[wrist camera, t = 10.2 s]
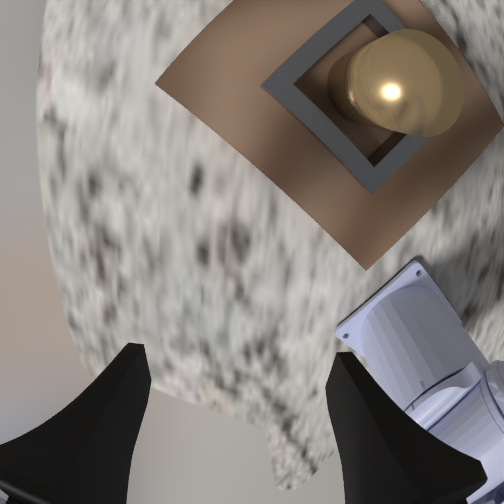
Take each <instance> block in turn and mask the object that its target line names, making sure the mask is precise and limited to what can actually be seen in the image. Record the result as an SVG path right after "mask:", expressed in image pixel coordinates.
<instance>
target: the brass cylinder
mask: <svg viewBox="0 0 504 504" xmlns="http://www.w3.org/2000/svg"><path fill="white" fill-rule="evenodd" d="M327 90H328V95H329V98H330V100H331V102H332V104H333V106H334V107H335V109H336V110H337V111H338V112H339V113H340V114H341V115H342V116H343V117H344V118H346V119H347V120H349V121H351V122H354V123H356V124H361V125H366V126H371V127H377V128H382V129H387V130H391V131H396V132H401V133H405V134H409V135H414V136H419V137H432V136H436V135H439V134H441V133H443V132H445V131H447V130H448V129H449V128H450V127H451V126H452V125H453V124H454V123H455V121H456V120H457V118H458V117H459V115H460V112H461V110H462V106H463V101H464V84H463V78H462V75H461V71H460V69H459V66H458V64H457V62H456V60H455V59H454V57H453V56H452V54H451V53H450V51H449V50H448V49H447V48H446V47H445V46H444V45H443V44H442V43H441V42H440V41H439V40H437V39H436V38H434V37H433V36H431V35H429V34H427V33H425V32H422V31H419V30H414V29H402V30H397V31H394V32H392V33H389V34H387V35H385V36H383V37H381V38H378V39H376V40H374V41H372V42H370V43H368V44H366V45H364V46H362V47H360V48H358V49H356V50H354V51H352V52H350V53H348V54H346V55H344V56H342V57H341V58H339V59H338V60H337V61H336V62H335V63H334V64H333V66H332V67H331V69H330V71H329V74H328V79H327Z"/></svg>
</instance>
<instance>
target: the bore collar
mask: <svg viewBox="0 0 504 504" xmlns="http://www.w3.org/2000/svg"><path fill="white" fill-rule="evenodd" d="M361 21H362V22H363V23H364V24H365V25H366V26H367V27H368V28H369V29H370V30H371V31H372V32H373V33H374V35H375V36H376V37H377V38H381V37H383V36H385V35H387V34H389V33H392V32H394V31H397V30H402V29H406V28H405V27H404V26H403V25H402V24H401V23H400V22H399V21H398V20H397V18H396V17H395V16H394V15H393V14H392V13H391V12H390V11H389V10H388V9H387V8H386V7H385V6H384V5H383V4H382V3H381V2H380V1H379V0H354V1H353V2H352V3H350V4H349V5H348V6H347V7H345V8H344V9H343V10H342V11H340V12H339V13H338V14H337V15H336V16H334V17H333V18H332V19H331V20H330V21H329V22H327V23H326V24H325V25H324V26H323V27H322V28H321V29H319V30H318V31H317V32H316V33H315V34H314V35H313V36H311V37H310V38H309V39H308V40H307V41H306V42H305V43H304V44H303V45H302V46H300V47H299V48H298V49H297V50H296V51H295V52H294V53H293V54H292V55H291V56H290V57H289V58H288V59H287V60H286V61H284V62H283V63H282V64H281V65H280V66H279V67H278V68H277V69H276V70H275V71H274V72H273V73H272V74H271V75H270V76H269V77H268V78H267V79H266V80H265V81H264V82H263V83H262V84H261V85H260V87H261V88H262V89H263V90H264V91H266V92H267V93H268V94H269V95H270V96H271V97H272V98H274V99H275V100H276V101H277V102H278V103H279V104H280V105H281V106H282V107H284V108H285V109H286V110H287V111H288V112H289V113H290V114H291V115H292V116H293V117H294V118H295V119H297V120H298V121H299V122H300V123H301V124H302V125H303V126H304V127H305V128H306V129H307V130H308V131H309V132H310V133H311V134H312V135H313V136H314V137H315V138H316V139H317V140H318V141H319V142H320V143H321V144H322V145H323V146H324V147H325V148H326V149H327V150H328V151H329V152H330V153H331V154H332V155H333V156H334V157H335V158H336V159H337V160H338V161H339V162H340V163H341V164H342V165H343V166H344V167H345V168H346V170H347V171H348V172H349V173H350V174H351V175H352V176H353V177H354V178H355V179H356V180H357V181H358V183H359V184H360V185H361V186H362V187H363V188H364V189H366V190H367V191H368V192H369V193H371V194H372V195H373V194H374V193H375V192H376V191H377V190H378V189H379V188H380V187H381V186H382V185H383V184H384V183H385V182H386V181H387V180H388V179H389V178H390V177H391V176H392V175H393V174H394V173H395V172H396V171H397V170H398V169H399V168H400V167H401V166H402V165H403V164H404V163H405V162H406V161H407V160H408V159H409V158H410V157H411V156H412V155H413V154H414V153H415V152H416V151H417V150H418V149H419V148H420V146H421V145H422V144H423V143H424V142H425V141H426V140H427V139H428V138H429V137H419V136H414V135H409V134H405V133H401V132H396V131H394V132H393V133H392V134H391V135H390V136H389V137H388V138H387V139H386V140H385V141H384V142H383V143H382V144H381V145H380V146H379V147H378V148H377V149H376V150H375V151H374V152H373V153H372V154H371V155H370V156H369V157H368V158H367V159H366V158H365V156H364V155H363V154H362V153H361V152H360V151H359V150H358V149H357V148H356V146H355V145H354V144H353V143H352V142H351V141H350V140H349V139H348V138H347V137H346V136H345V135H344V134H343V133H342V131H341V130H340V129H339V128H338V127H337V126H336V125H335V124H334V123H333V122H332V121H331V120H330V119H329V118H328V117H327V116H326V115H325V114H324V113H323V112H322V111H321V110H320V109H319V108H318V107H317V106H316V105H315V104H314V103H313V102H312V101H311V100H310V99H309V98H307V97H306V96H305V95H304V94H303V93H302V92H301V91H300V90H299V89H298V88H297V87H296V86H295V85H293V83H294V82H295V81H296V80H297V79H298V78H300V77H301V76H302V75H303V74H304V73H305V72H306V71H307V70H308V69H309V68H310V67H311V66H312V65H313V64H314V63H315V62H316V61H317V60H318V59H320V58H321V57H322V56H323V55H324V54H325V53H326V52H327V51H328V50H329V49H330V48H332V47H333V46H334V45H335V44H336V43H337V42H338V41H339V40H340V39H342V38H343V37H344V36H345V35H346V34H347V33H348V32H350V31H351V30H352V29H353V28H354V27H355V26H356V25H358V24H359V23H360V22H361Z"/></svg>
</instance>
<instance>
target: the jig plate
mask: <svg viewBox="0 0 504 504" xmlns="http://www.w3.org/2000/svg"><path fill="white" fill-rule="evenodd" d="M353 1H354V0H234V1H232V2H231V3H230V4H229V5H228V6H227V7H226V8H225V9H224V10H223V11H222V12H220V13H219V14H218V15H217V16H216V17H215V18H214V19H213V20H212V21H211V22H210V23H209V24H208V25H207V26H206V27H205V28H204V29H203V30H202V31H201V32H200V33H199V34H198V35H197V36H196V37H195V38H194V39H193V40H192V41H191V43H190V44H189V45H188V46H187V47H186V48H185V49H184V50H183V51H182V52H181V53H180V54H179V56H178V57H177V58H176V59H175V60H174V61H173V62H172V63H171V65H170V66H169V67H168V68H167V69H166V70H165V72H164V73H163V74H162V75H161V76H160V77H159V79H158V80H157V81H156V82H155V84H156V85H157V86H158V87H160V88H161V89H162V90H163V91H165V92H166V93H167V94H169V95H170V96H171V97H172V98H174V99H175V100H176V101H178V102H179V103H180V104H181V105H183V106H184V107H185V108H186V109H188V110H189V111H190V112H191V113H193V114H194V115H195V116H196V117H198V118H199V119H200V120H201V121H202V122H204V123H205V124H206V125H207V126H209V127H210V128H211V129H212V130H213V131H215V132H216V133H217V134H218V135H219V136H221V137H222V138H223V139H224V140H225V141H227V142H228V143H229V144H230V145H231V146H232V147H234V148H235V149H236V150H237V151H238V152H239V153H241V154H242V155H243V156H244V157H245V158H246V159H248V160H249V161H250V162H251V163H252V164H253V165H254V166H256V167H257V168H258V169H259V170H260V171H261V172H262V173H264V174H265V175H266V176H267V177H268V178H269V179H270V180H271V181H273V182H274V183H275V184H276V185H277V186H278V187H279V188H280V189H281V190H282V191H284V192H285V193H286V194H287V195H288V196H289V197H290V198H291V199H292V200H293V201H295V202H296V203H297V204H298V205H299V206H300V207H301V208H302V209H303V210H304V211H305V212H306V213H307V214H308V215H310V216H311V217H312V218H313V219H314V220H315V221H316V222H317V223H318V224H319V225H320V226H321V227H322V228H323V229H324V230H325V231H326V232H327V233H328V234H329V235H330V236H332V237H333V238H334V239H335V240H336V241H337V242H338V243H339V244H340V245H341V246H342V247H343V248H344V249H345V250H346V251H347V252H348V253H349V254H350V255H351V256H352V257H353V258H354V259H355V260H356V261H357V262H358V263H359V264H360V265H361V266H362V267H363V268H364V269H365V270H367V269H369V268H370V267H371V266H372V265H373V264H374V263H375V262H376V261H377V260H378V259H379V258H380V257H382V256H383V255H384V254H385V253H386V252H387V251H388V250H389V249H390V248H391V247H392V246H393V245H394V244H395V243H396V242H397V241H398V240H399V239H400V238H401V237H403V236H404V235H405V234H406V233H407V232H408V231H409V230H410V229H411V228H412V227H413V226H414V225H415V224H416V223H417V222H418V221H419V220H420V219H421V218H422V217H423V216H424V215H425V214H426V213H427V212H428V211H429V209H430V208H431V207H432V206H433V205H434V204H435V203H436V202H437V201H438V200H439V199H440V198H441V197H442V196H443V195H444V194H445V193H446V192H447V191H448V190H449V188H450V187H451V186H452V185H453V184H454V183H455V182H456V181H457V180H458V179H459V178H460V176H461V175H462V174H463V173H464V172H465V171H466V170H467V169H468V168H469V166H470V165H471V164H472V163H473V162H474V161H475V160H476V158H477V157H478V156H479V155H480V154H481V153H482V151H483V150H484V149H485V148H486V147H487V146H488V144H489V143H490V142H491V141H492V140H493V138H494V137H495V136H496V135H497V133H498V132H499V131H500V130H501V129H502V127H503V126H504V124H503V122H502V120H501V118H500V116H499V114H498V112H497V110H496V109H495V107H494V105H493V103H492V101H491V100H490V98H489V96H488V94H487V93H486V91H485V89H484V88H483V86H482V84H481V83H480V81H479V80H478V78H477V76H476V75H475V73H474V72H473V70H472V69H471V67H470V66H469V64H468V63H467V61H466V60H465V58H464V57H463V55H462V54H461V53H460V51H459V50H458V48H457V47H456V46H455V44H454V43H453V42H452V40H451V39H450V38H449V36H448V35H447V34H446V32H445V31H444V30H443V29H442V27H441V26H440V25H439V24H438V22H437V21H436V20H435V19H434V18H433V16H432V15H431V14H430V13H429V12H428V11H427V9H426V8H425V7H424V6H423V5H422V4H421V3H420V2H419V1H418V0H379V1H380V2H381V3H382V4H383V5H384V6H385V7H386V8H387V9H388V10H389V11H390V12H391V13H392V14H393V15H394V16H395V17H396V18H397V20H398V21H399V22H400V23H401V24H402V25H403V26H404V27H405V28H406V29H414V30H419V31H422V32H425V33H427V34H429V35H431V36H433V37H434V38H436V39H437V40H439V41H440V42H441V43H442V44H443V45H444V46H445V47H446V48H447V49H448V50H449V51H450V53H451V54H452V56H453V57H454V59H455V60H456V62H457V64H458V66H459V69H460V71H461V75H462V78H463V84H464V101H463V106H462V110H461V112H460V115H459V117H458V118H457V120H456V121H455V123H454V124H453V125H452V126H451V127H450V128H449V129H448V130H447V131H445V132H443V133H441V134H439V135H436V136H432V137H429V138H428V139H427V140H426V141H425V142H424V143H423V144H422V145H421V146H420V148H419V149H418V150H417V151H416V152H415V153H414V154H413V155H412V156H411V157H410V158H409V159H408V160H407V161H406V162H405V163H404V164H403V165H402V166H401V167H400V168H399V169H398V170H397V171H396V172H395V173H394V174H393V175H392V176H391V177H390V178H389V179H388V180H387V181H386V182H385V183H384V184H383V185H382V186H381V187H380V188H379V189H378V190H377V191H376V192H375V193H374V194H373V195H372V194H371V193H369V192H368V191H367V190H366V189H364V188H363V187H362V186H361V185H360V184H359V183H358V181H357V180H356V179H355V178H354V177H353V176H352V175H351V174H350V173H349V172H348V171H347V170H346V168H345V167H344V166H343V165H342V164H341V163H340V162H339V161H338V160H337V159H336V158H335V157H334V156H333V155H332V154H331V153H330V152H329V151H328V150H327V149H326V148H325V147H324V146H323V145H322V144H321V143H320V142H319V141H318V140H317V139H316V138H315V137H314V136H313V135H312V134H311V133H310V132H309V131H308V130H307V129H306V128H305V127H304V126H303V125H302V124H301V123H300V122H299V121H298V120H297V119H295V118H294V117H293V116H292V115H291V114H290V113H289V112H288V111H287V110H286V109H285V108H284V107H282V106H281V105H280V104H279V103H278V102H277V101H276V100H275V99H274V98H272V97H271V96H270V95H269V94H268V93H267V92H266V91H264V90H263V89H262V88H261V87H260V85H261V84H262V83H263V82H264V81H265V80H266V79H267V78H268V77H269V76H270V75H271V74H272V73H273V72H274V71H275V70H276V69H277V68H278V67H279V66H280V65H281V64H282V63H283V62H284V61H286V60H287V59H288V58H289V57H290V56H291V55H292V54H293V53H294V52H295V51H296V50H297V49H298V48H299V47H300V46H302V45H303V44H304V43H305V42H306V41H307V40H308V39H309V38H310V37H311V36H313V35H314V34H315V33H316V32H317V31H318V30H319V29H321V28H322V27H323V26H324V25H325V24H326V23H327V22H329V21H330V20H331V19H332V18H333V17H334V16H336V15H337V14H338V13H339V12H340V11H342V10H343V9H344V8H345V7H347V6H348V5H349V4H350V3H352V2H353ZM376 39H378V38H377V37H376V36H375V35H374V33H373V32H372V31H371V30H370V29H369V28H368V27H367V26H366V25H365V24H364V23H363V22H362V21H361V22H360V23H359V24H358V25H356V26H355V27H354V28H353V29H352V30H351V31H350V32H348V33H347V34H346V35H345V36H344V37H343V38H342V39H340V40H339V41H338V42H337V43H336V44H335V45H334V46H333V47H332V48H330V49H329V50H328V51H327V52H326V53H325V54H324V55H323V56H322V57H321V58H320V59H318V60H317V61H316V62H315V63H314V64H313V65H312V66H311V67H310V68H309V69H308V70H307V71H306V72H305V73H304V74H303V75H302V76H301V77H300V78H298V79H297V80H296V81H295V82H294V83H293V85H295V86H296V87H297V88H298V89H299V90H300V91H301V92H302V93H303V94H304V95H305V96H306V97H307V98H309V99H310V100H311V101H312V102H313V103H314V104H315V105H316V106H317V107H318V108H319V109H320V110H321V111H322V112H323V113H324V114H325V115H326V116H327V117H328V118H329V119H330V120H331V121H332V122H333V123H334V124H335V125H336V126H337V127H338V128H339V129H340V130H341V131H342V133H343V134H344V135H345V136H346V137H347V138H348V139H349V140H350V141H351V142H352V143H353V144H354V145H355V146H356V148H357V149H358V150H359V151H360V152H361V153H362V154H363V155H364V156H365V158H366V159H367V158H368V157H369V156H370V155H371V154H372V153H373V152H374V151H375V150H376V149H377V148H378V147H379V146H380V145H381V144H382V143H383V142H384V141H385V140H386V139H387V138H388V137H389V136H390V135H391V134H392V133H393V132H394V131H391V130H387V129H382V128H377V127H371V126H366V125H361V124H356V123H354V122H351V121H349V120H347V119H346V118H344V117H343V116H342V115H341V114H340V113H339V112H338V111H337V110H336V109H335V107H334V106H333V104H332V102H331V100H330V98H329V95H328V90H327V79H328V74H329V71H330V69H331V67H332V66H333V64H334V63H335V62H336V61H337V60H338V59H339V58H341V57H342V56H344V55H346V54H348V53H350V52H352V51H354V50H356V49H358V48H360V47H362V46H364V45H366V44H368V43H370V42H372V41H374V40H376Z"/></svg>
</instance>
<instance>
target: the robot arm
mask: <svg viewBox="0 0 504 504" xmlns="http://www.w3.org/2000/svg"><path fill="white" fill-rule="evenodd" d="M418 270H420V271H419V273H417V274H416V272H417V271H418ZM461 324H462V321H461V320H460V318H459V317H458V315H457V314H456V312H455V311H454V309H453V308H452V306H451V305H450V303H449V302H448V300H447V299H446V298H445V296H444V295H443V293H442V292H441V291H440V289H439V288H438V286H437V285H436V284H435V282H434V281H433V280H432V278H431V277H430V275H429V274H428V273H427V271H426V270H425V269H424V267H423V266H422V265H421V264H420V262H418V261H417V260H414V261H412V262H411V263H409V264H408V265H407V266H406V267H405V268H404V269H403V270H402V271H401V272H400V273H399V274H398V275H397V276H395V277H394V278H393V279H392V280H391V281H390V282H389V283H388V284H387V285H386V286H384V287H383V288H382V289H381V290H380V291H379V292H378V293H377V294H375V295H374V296H373V297H372V298H371V299H370V300H369V301H367V302H366V303H365V304H364V305H363V306H362V307H360V308H359V309H358V310H357V311H356V312H354V313H353V314H352V315H351V316H350V317H348V318H347V319H346V320H345V321H344V322H342V323H341V324H340V325H339V326H337V327H336V328H335V335H336V336H337V337H338V338H339V339H341V340H342V341H343V342H345V343H346V344H347V345H349V346H350V347H351V348H352V349H354V350H355V351H356V352H358V353H359V354H360V355H362V356H363V357H364V358H366V360H367V363H368V365H369V368H370V370H371V373H372V375H373V377H372V376H371V375H370V374H369V372H368V371H367V370H366V369H365V368H364V366H363V365H362V364H361V363H360V361H359V360H358V359H357V358H356V356H355V355H354V354H353V353H352V352H337V353H336V356H335V359H334V362H333V366H332V369H331V372H330V375H329V378H328V381H327V383H326V386H325V388H326V397H327V405H328V411H329V415H330V419H331V423H332V427H333V431H334V434H335V438H336V442H337V446H338V450H339V454H340V459H341V464H342V472H343V480H344V491H345V504H504V361H499V360H496V361H493V362H492V363H491V364H489V363H488V361H487V360H486V358H485V357H484V355H483V354H482V353H481V351H480V350H479V348H478V347H477V346H476V344H475V343H474V341H473V340H472V339H471V337H470V336H469V335H468V333H467V332H466V331H465V329H464V328H463V327H462V325H461ZM347 333H348V334H347ZM344 334H347V335H344ZM373 378H374V379H373ZM150 386H151V376H150V371H149V367H148V362H147V358H146V353H145V348H144V344H136V343H128V344H127V345H126V346H125V347H124V348H123V349H122V350H121V351H120V353H119V354H118V355H117V356H116V357H115V358H114V359H113V361H112V362H111V363H110V364H109V365H108V366H107V367H106V368H105V370H104V371H103V372H102V373H101V374H100V375H99V376H98V377H97V378H96V379H95V380H94V381H93V382H92V383H91V384H90V385H89V386H88V387H87V388H86V389H85V390H84V391H83V392H82V393H81V394H80V395H79V396H78V397H77V398H76V399H74V401H72V402H71V403H70V404H69V405H67V406H66V407H65V408H64V409H63V410H61V411H60V412H58V413H57V414H56V415H54V416H53V417H52V418H50V419H49V420H47V421H46V422H44V423H43V424H41V425H40V426H38V427H36V428H35V429H33V430H31V431H29V432H27V433H26V434H24V435H22V436H20V437H18V438H16V439H13V440H11V441H9V442H7V443H4V444H1V445H0V489H1V490H2V491H3V492H4V493H6V494H7V495H8V496H9V497H8V500H7V501H6V500H4V499H3V498H1V497H0V504H126V500H127V490H128V480H129V473H130V466H131V460H132V455H133V451H134V446H135V443H136V440H137V436H138V433H139V430H140V426H141V423H142V420H143V416H144V413H145V410H146V406H147V403H148V397H149V391H150Z"/></svg>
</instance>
